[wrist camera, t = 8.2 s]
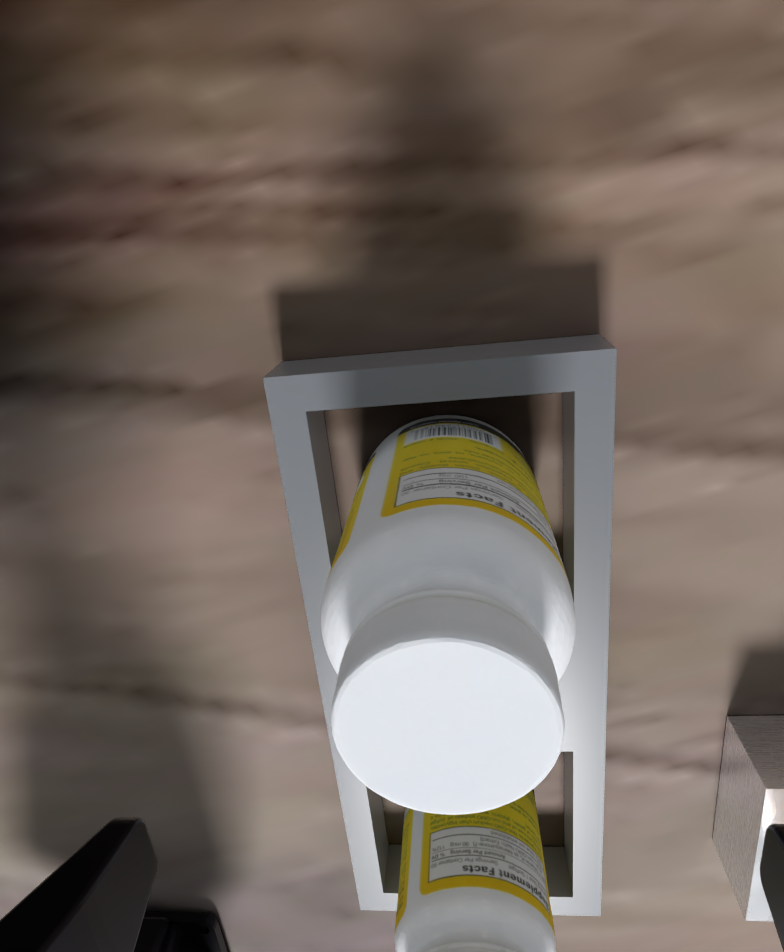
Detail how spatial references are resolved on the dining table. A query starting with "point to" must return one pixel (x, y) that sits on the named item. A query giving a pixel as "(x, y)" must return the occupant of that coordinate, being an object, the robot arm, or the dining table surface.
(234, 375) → the dining table surface
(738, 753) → the button console
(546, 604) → the supplement bottle
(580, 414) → the bottle holder
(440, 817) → the supplement bottle
